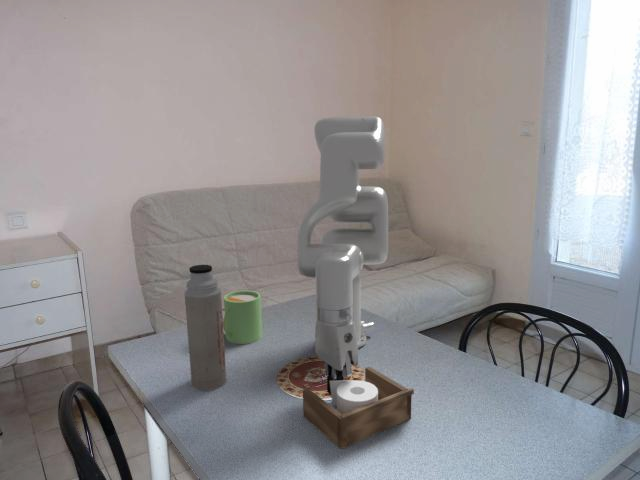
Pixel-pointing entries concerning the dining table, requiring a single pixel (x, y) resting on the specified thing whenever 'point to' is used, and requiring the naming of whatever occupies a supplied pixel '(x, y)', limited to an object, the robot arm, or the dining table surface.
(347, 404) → the toilet paper
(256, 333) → the mug
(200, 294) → the thermos bottle
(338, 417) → the open wooden box
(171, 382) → the dining table surface
